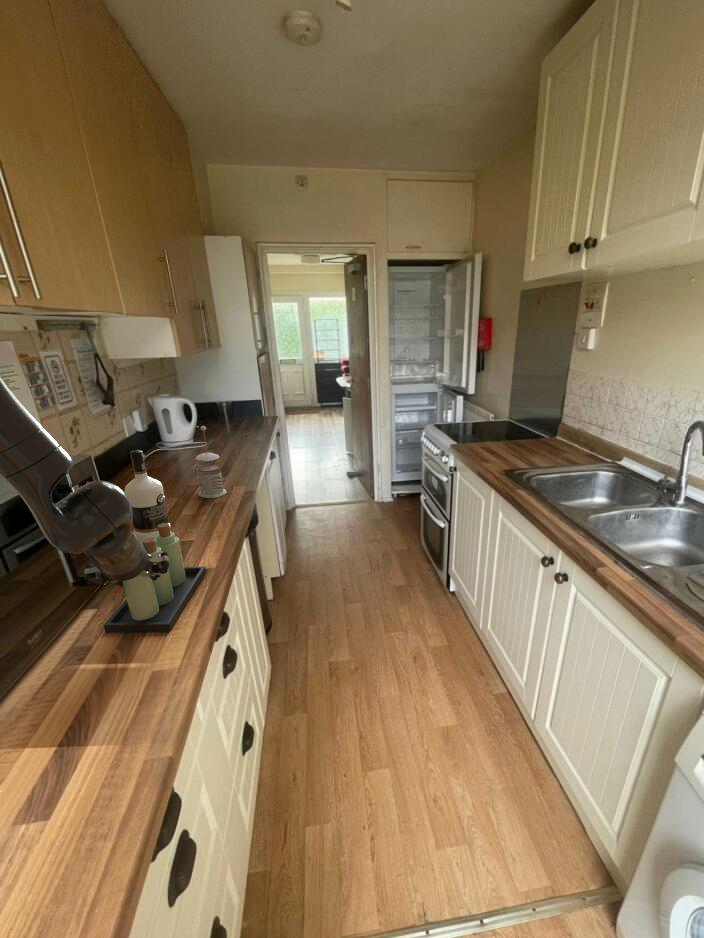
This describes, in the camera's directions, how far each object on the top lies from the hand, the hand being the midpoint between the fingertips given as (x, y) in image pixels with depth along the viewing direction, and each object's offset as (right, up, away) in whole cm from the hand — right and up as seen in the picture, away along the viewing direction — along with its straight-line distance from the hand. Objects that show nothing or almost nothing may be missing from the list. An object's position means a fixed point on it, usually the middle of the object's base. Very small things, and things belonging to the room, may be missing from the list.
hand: (138, 578), depth 87 cm
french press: (-14, +20, +71) cm, 75 cm away
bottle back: (-1, -3, +16) cm, 16 cm away
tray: (0, -7, +9) cm, 11 cm away
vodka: (-9, 0, +25) cm, 27 cm away
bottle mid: (0, -6, +9) cm, 11 cm away
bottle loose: (+1, -7, +1) cm, 7 cm away
